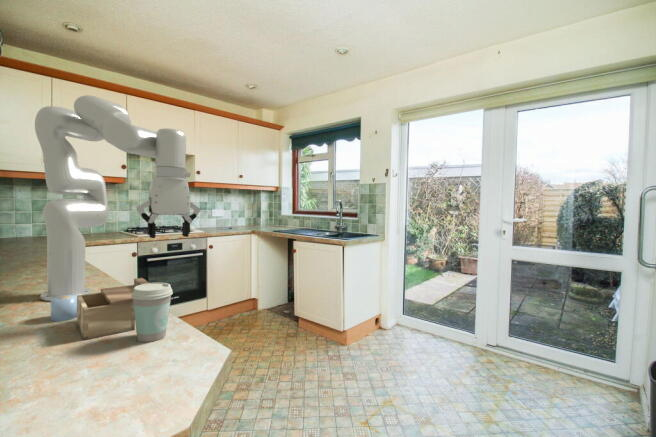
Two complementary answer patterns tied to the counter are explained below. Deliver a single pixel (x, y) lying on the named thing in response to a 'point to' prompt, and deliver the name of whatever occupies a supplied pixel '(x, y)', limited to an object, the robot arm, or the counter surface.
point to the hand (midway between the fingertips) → (169, 236)
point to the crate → (103, 316)
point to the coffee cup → (151, 310)
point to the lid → (121, 292)
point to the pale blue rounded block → (63, 308)
